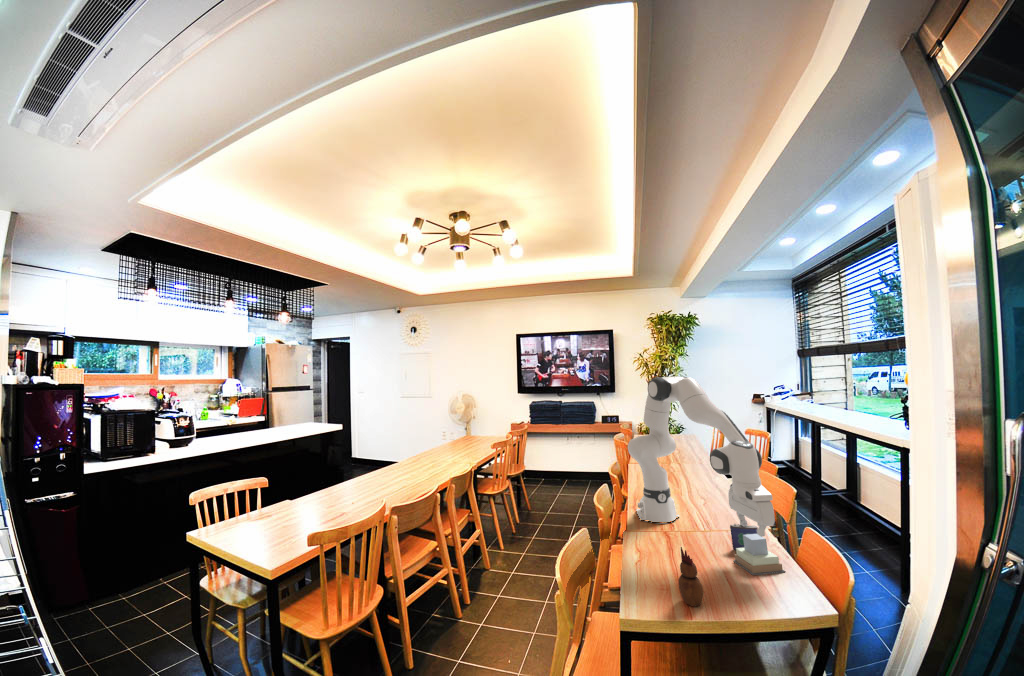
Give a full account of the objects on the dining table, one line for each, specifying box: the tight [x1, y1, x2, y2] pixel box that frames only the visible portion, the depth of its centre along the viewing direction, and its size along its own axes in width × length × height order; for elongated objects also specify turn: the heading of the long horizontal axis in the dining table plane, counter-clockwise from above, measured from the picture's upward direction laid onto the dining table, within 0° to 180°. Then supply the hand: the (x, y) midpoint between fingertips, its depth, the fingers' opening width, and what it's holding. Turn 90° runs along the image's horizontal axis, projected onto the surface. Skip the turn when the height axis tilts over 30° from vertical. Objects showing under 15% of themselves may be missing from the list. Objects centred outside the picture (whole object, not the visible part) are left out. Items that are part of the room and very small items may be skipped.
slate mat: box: [732, 559, 786, 576], centre depth 137 cm, size 11×11×1 cm
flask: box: [729, 523, 759, 552], centre depth 150 cm, size 9×3×11 cm, turn 68°
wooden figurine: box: [678, 546, 704, 607], centre depth 118 cm, size 7×6×15 cm
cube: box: [743, 534, 769, 556], centre depth 138 cm, size 5×5×5 cm
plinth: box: [734, 548, 784, 573], centre depth 137 cm, size 10×10×4 cm
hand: (752, 530), depth 139 cm, fingers open, 8 cm apart
